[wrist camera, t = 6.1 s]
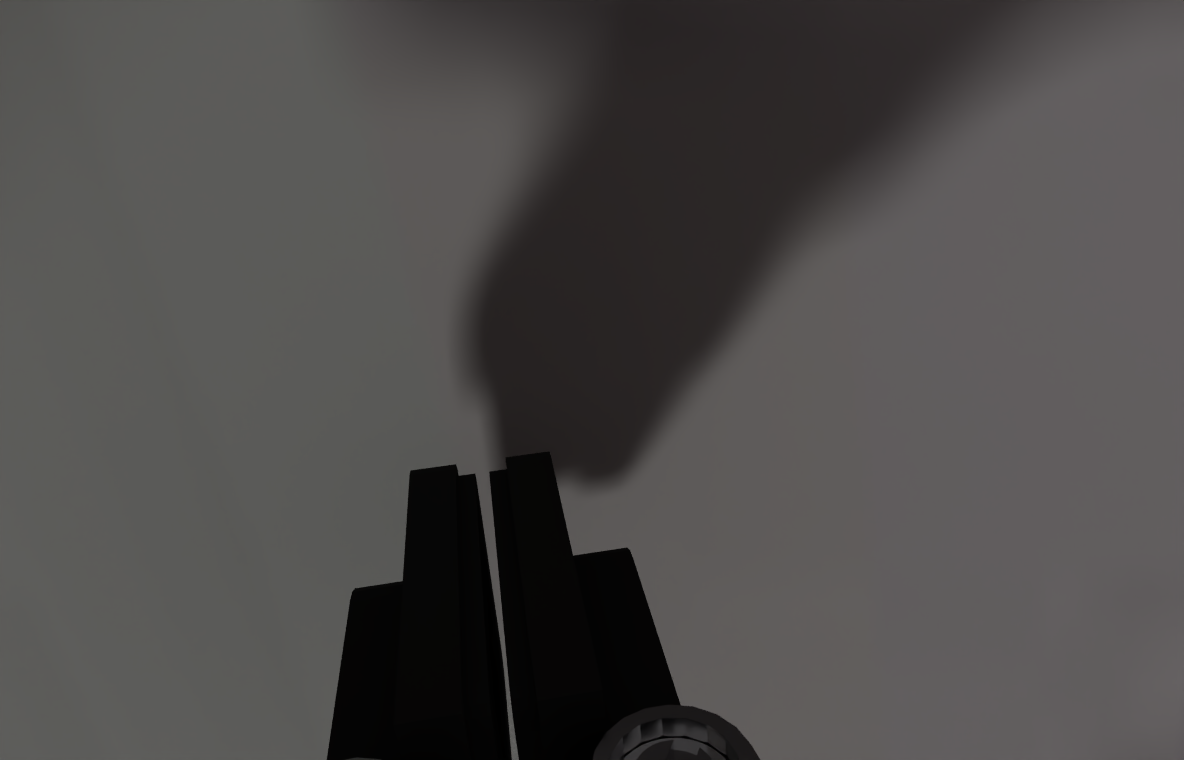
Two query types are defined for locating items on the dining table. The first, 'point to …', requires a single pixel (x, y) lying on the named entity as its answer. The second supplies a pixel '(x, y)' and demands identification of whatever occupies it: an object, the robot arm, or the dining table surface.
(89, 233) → the dining table surface
